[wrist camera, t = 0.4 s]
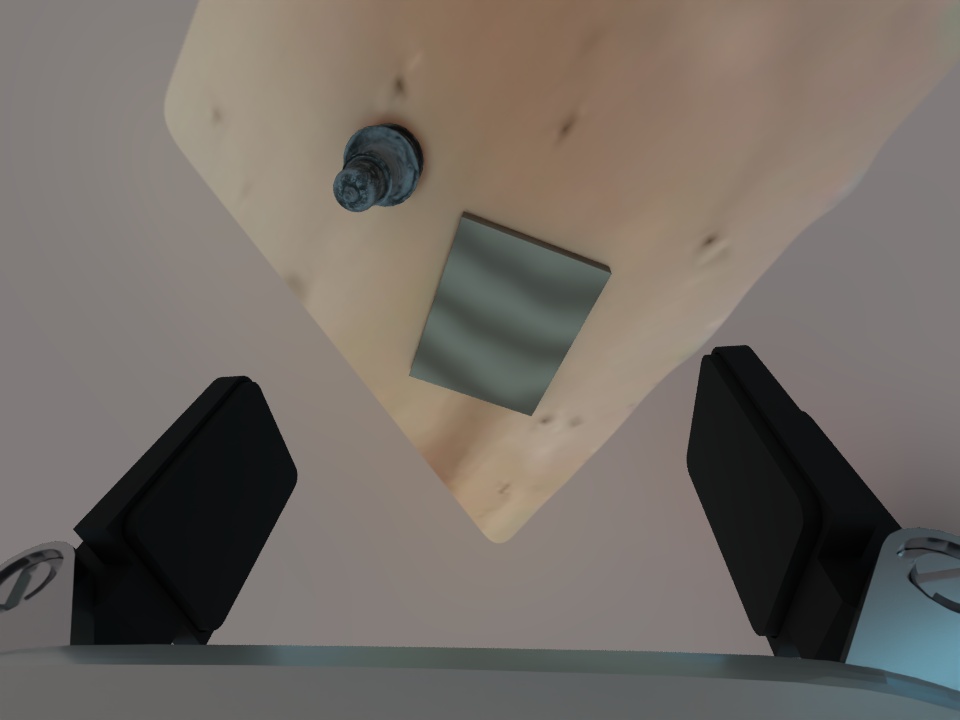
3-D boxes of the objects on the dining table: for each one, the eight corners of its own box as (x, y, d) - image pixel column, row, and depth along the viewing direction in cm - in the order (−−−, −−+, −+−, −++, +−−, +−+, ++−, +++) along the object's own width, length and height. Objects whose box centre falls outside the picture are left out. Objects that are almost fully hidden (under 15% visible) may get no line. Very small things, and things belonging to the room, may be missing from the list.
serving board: (463, 211, 41) (461, 216, 40) (609, 266, 43) (611, 273, 42) (411, 367, 51) (408, 375, 50) (531, 407, 53) (531, 416, 51)
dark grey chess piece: (440, 174, 40) (410, 218, 30) (383, 206, 41) (338, 258, 32) (401, 104, 37) (355, 127, 27) (342, 142, 39) (279, 176, 29)
